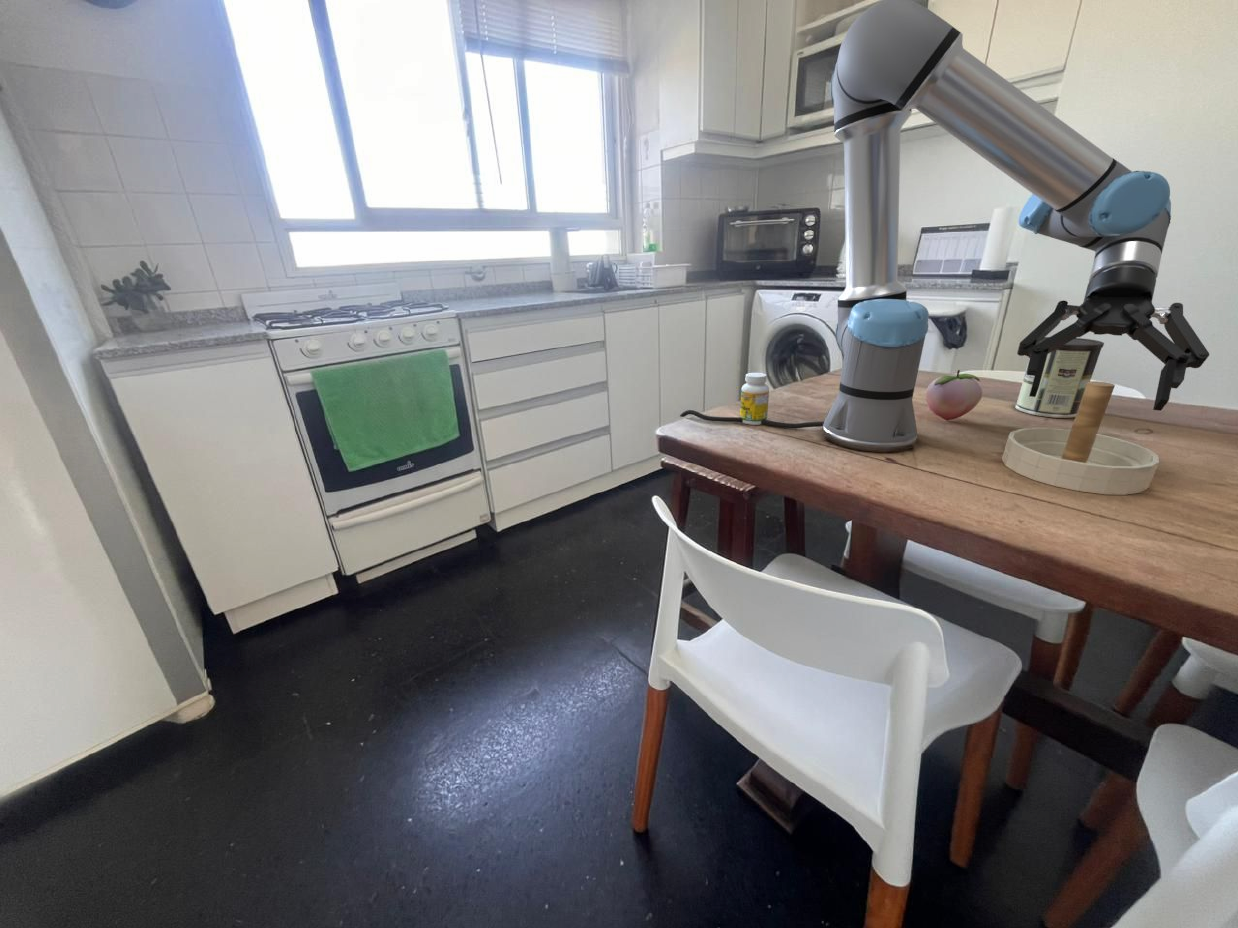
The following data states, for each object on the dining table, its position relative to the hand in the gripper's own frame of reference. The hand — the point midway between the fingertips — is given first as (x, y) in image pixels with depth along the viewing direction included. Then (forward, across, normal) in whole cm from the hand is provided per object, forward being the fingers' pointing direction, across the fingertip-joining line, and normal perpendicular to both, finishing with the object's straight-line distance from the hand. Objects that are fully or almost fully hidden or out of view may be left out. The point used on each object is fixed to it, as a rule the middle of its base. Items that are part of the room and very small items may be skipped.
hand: (1093, 398), depth 71 cm
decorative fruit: (-3, +18, -19) cm, 26 cm away
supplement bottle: (+12, +49, -4) cm, 51 cm away
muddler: (+10, 0, -5) cm, 11 cm away
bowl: (+10, 0, -5) cm, 11 cm away
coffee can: (-16, +3, -31) cm, 35 cm away
